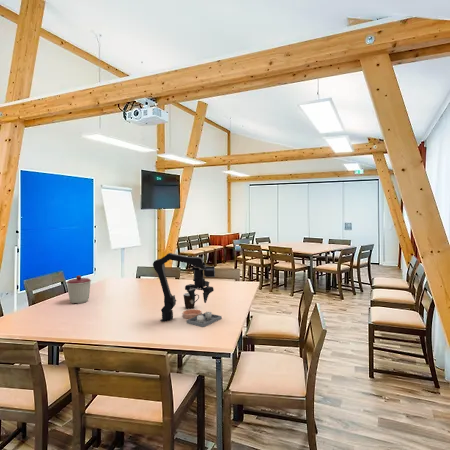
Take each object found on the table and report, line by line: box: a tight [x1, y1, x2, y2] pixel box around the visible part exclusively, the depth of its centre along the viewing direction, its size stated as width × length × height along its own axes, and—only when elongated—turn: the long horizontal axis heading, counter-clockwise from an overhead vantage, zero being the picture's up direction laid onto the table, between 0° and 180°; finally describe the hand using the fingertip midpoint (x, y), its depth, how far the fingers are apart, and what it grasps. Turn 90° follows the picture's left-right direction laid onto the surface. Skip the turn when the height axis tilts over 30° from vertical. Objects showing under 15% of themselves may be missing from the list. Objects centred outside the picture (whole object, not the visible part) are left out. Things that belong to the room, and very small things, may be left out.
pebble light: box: [197, 315, 204, 324], centre depth 196 cm, size 4×4×4 cm
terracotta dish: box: [181, 308, 203, 320], centre depth 210 cm, size 12×12×3 cm
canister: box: [65, 274, 92, 304], centre depth 254 cm, size 18×18×21 cm
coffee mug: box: [182, 292, 200, 310], centre depth 232 cm, size 12×9×10 cm
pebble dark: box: [204, 311, 213, 320], centre depth 202 cm, size 4×4×4 cm
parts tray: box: [186, 312, 222, 328], centre depth 199 cm, size 18×13×3 cm
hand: (199, 301), depth 202 cm, fingers open, 9 cm apart
